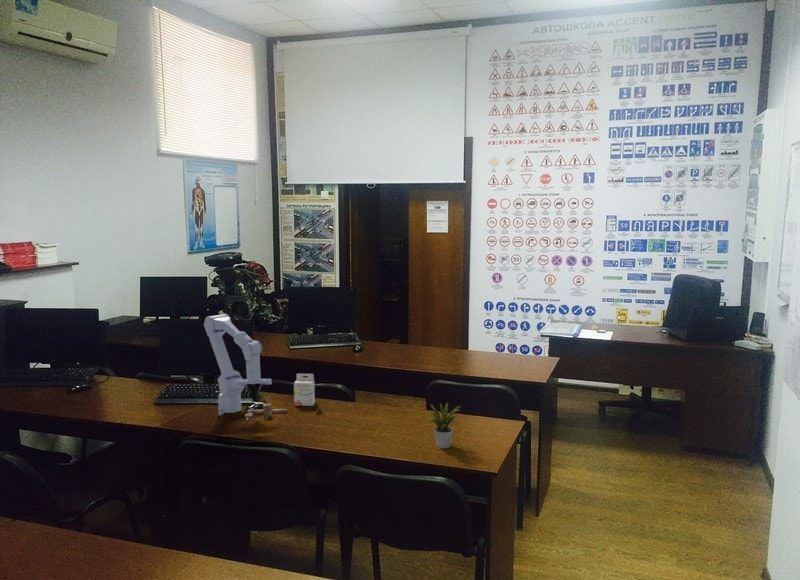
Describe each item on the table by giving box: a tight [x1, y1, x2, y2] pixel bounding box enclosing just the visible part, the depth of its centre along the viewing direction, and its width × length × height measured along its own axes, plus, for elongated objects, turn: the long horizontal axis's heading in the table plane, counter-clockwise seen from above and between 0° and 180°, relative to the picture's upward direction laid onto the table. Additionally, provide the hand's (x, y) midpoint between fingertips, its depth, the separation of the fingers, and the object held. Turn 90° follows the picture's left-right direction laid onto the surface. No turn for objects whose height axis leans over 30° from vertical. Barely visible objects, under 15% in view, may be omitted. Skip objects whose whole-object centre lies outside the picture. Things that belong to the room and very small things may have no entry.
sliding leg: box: [262, 403, 273, 420], centre depth 266 cm, size 3×10×5 cm, turn 2°
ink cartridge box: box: [293, 373, 316, 407], centre depth 282 cm, size 9×5×15 cm, turn 84°
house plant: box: [426, 402, 461, 449], centre depth 229 cm, size 14×14×16 cm
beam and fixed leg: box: [244, 408, 288, 421], centre depth 267 cm, size 17×10×2 cm, turn 92°
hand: (254, 401), depth 265 cm, fingers closed
